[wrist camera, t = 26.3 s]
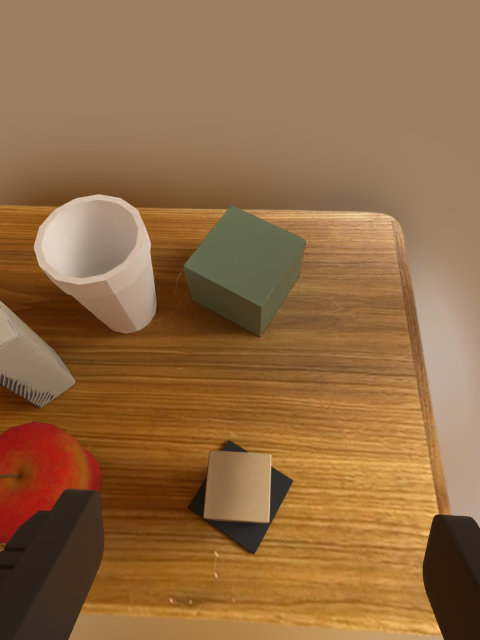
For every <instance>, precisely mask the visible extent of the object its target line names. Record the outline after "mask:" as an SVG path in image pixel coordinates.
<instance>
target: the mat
mask: <svg viewBox="0 0 480 640" xmlns="http://www.w3.org/2000/svg"><path fill="white" fill-rule="evenodd" d="M223 451H231V452H247V451H245V450H244V449H242V448H241V447H239V446H237V445H236V444H234V443H233V442H231V441H228V443H227V445H226V446H225V448H224V450H223ZM247 453H249V452H247ZM292 482H293V480H291V479H290V478H288V477H287V476H285V475H283V474H282V473H280V472H279V471H277V470H276V469H274V468H272V467H271V485H270V519H269V523H266V524H256V523H242V522H228V521H215V520H210V519H205V518H204V517H203V515H204V504H205V493H206V483H207V477H206V479H205V481H204V482H203V484H202V486H201V487H200V489H199V490H198V492H197V494H196V495H195V497H194V499H193V500H192V502H191V504H190V505H189V507H188V508H189V509H190V510H192V511H193V512H194V513H196V514H197V515H199V516H200V517H202V518H203V519H204V520H206V521H207V522H209V523H210V524H212V525H213V526H215V527H216V528H217V529H219V530H220V531H222V532H223V533H225V534H226V535H227V536H229V537H230V538H232V539H233V540H235V541H236V542H237V543H239V544H240V545H242V546H243V547H245V548H246V549H248V550H249V551H250V552H252V553H253V554H255V552H256V550H257V549H258V547H259V545H260V543H261V541H262V539H263V537H264V535H265V533H266V531H267V530H268V528H269V526H270V524H271V522H272V520H273V518H274V516H275V514H276V512H277V511H278V509H279V507H280V505H281V503H282V501H283V499H284V497H285V495H286V493H287V492H288V490H289V488H290V486H291V484H292Z"/></svg>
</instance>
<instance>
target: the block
mask: <svg viewBox="0 0 480 640" xmlns="http://www.w3.org/2000/svg"><path fill="white" fill-rule="evenodd" d="M270 485H271V454H263V453H247V452H231V451H215V450H210V451H209V461H208V472H207V483H206V493H205V504H204V515H203V517H204V518H205V519H210V520H215V521H228V522H242V523H256V524H266V523H269V519H270Z"/></svg>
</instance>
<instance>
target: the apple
mask: <svg viewBox="0 0 480 640" xmlns="http://www.w3.org/2000/svg"><path fill="white" fill-rule="evenodd" d="M101 484H102V480H101V467H100V466H99V464H98V462H97V461H96V459H95V457H94V456H93V455H92V454H91V453H89V452H87V451H86V450H84V449H83V448H82V446H81V445H80V444H79V442H78V441H77V440H76V439H75V438H74V437H73V436H71V435H70V434H69V433H67V432H65V431H64V430H62V429H60V428H59V427H57V426H55V425H53V424H45V423H38V422H32V423H27V424H23V425H19V426H15V427H11V428H10V429H8V430H7V431H5V432H4V433H3V434H2V435H0V543H8V541H9V540H10V539H11V537H12V536H13V534H14V533H15V532H16V530H17V529H18V527H19V526H20V525H22V524H23V523H24V522H25V521H27V520H28V519H29V518H30V517H32V516H33V515H34V514H35V513H37V512H38V511H39V510H46V511H51V509H52V508H53V506H54V504H55V503H56V501H57V500H58V498H59V497H60V495H61V494H62V492H63V491H64V490H65V489H83V490H97V491H98V492H99V491H100V488H101Z"/></svg>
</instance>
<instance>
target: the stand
mask: <svg viewBox="0 0 480 640" xmlns="http://www.w3.org/2000/svg"><path fill="white" fill-rule="evenodd" d="M305 244H306V240H305V239H303V238H301V237H299V236H296V235H294V234H292V233H290V232H288V231H286V230H284V229H281V228H279V227H277V226H275V225H273V224H271V223H269V222H266V221H264V220H262V219H260V218H258V217H256V216H254V215H251V214H249V213H247V212H245V211H243V210H241V209H238V208H236V207H234V206H232V205H231V206H230V208H229V209H228V210H227V211H226V213H225V214H224V215H223V216H222V218H221V219H220V220H219V221H218V223H217V224H216V225H215V226H214V228H213V229H212V230H211V231H210V233H209V234H208V235H207V237H206V238H205V239H204V240H203V242H202V243H201V244H200V245H199V247H198V248H197V249H196V250H195V252H194V253H193V254H192V255H191V257H190V258H189V259H188V260H187V262H186V263H185V264H184V266H183V267H184V271H185V275H186V279H187V283H188V287H189V291H190V294H191V298H192V300H193V301H195V302H197V303H198V304H200V305H202V306H204V307H206V308H208V309H209V310H211V311H213V312H215V313H217V314H219V315H220V316H222V317H224V318H226V319H228V320H229V321H231V322H233V323H235V324H237V325H239V326H240V327H242V328H244V329H246V330H248V331H250V332H251V333H253V334H255V335H257V336H259V337H261V335H262V333H263V332H264V330H265V329H266V327H267V326H268V324H269V323H270V321H271V320H272V318H273V316H274V315H275V313H276V312H277V310H278V309H279V307H280V306H281V304H282V303H283V301H284V299H285V298H286V296H287V295H288V293H289V292H290V290H291V289H292V287H293V285H294V284H295V282H296V281H297V279H298V278H299V275H300V270H301V265H302V259H303V254H304V249H305Z"/></svg>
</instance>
